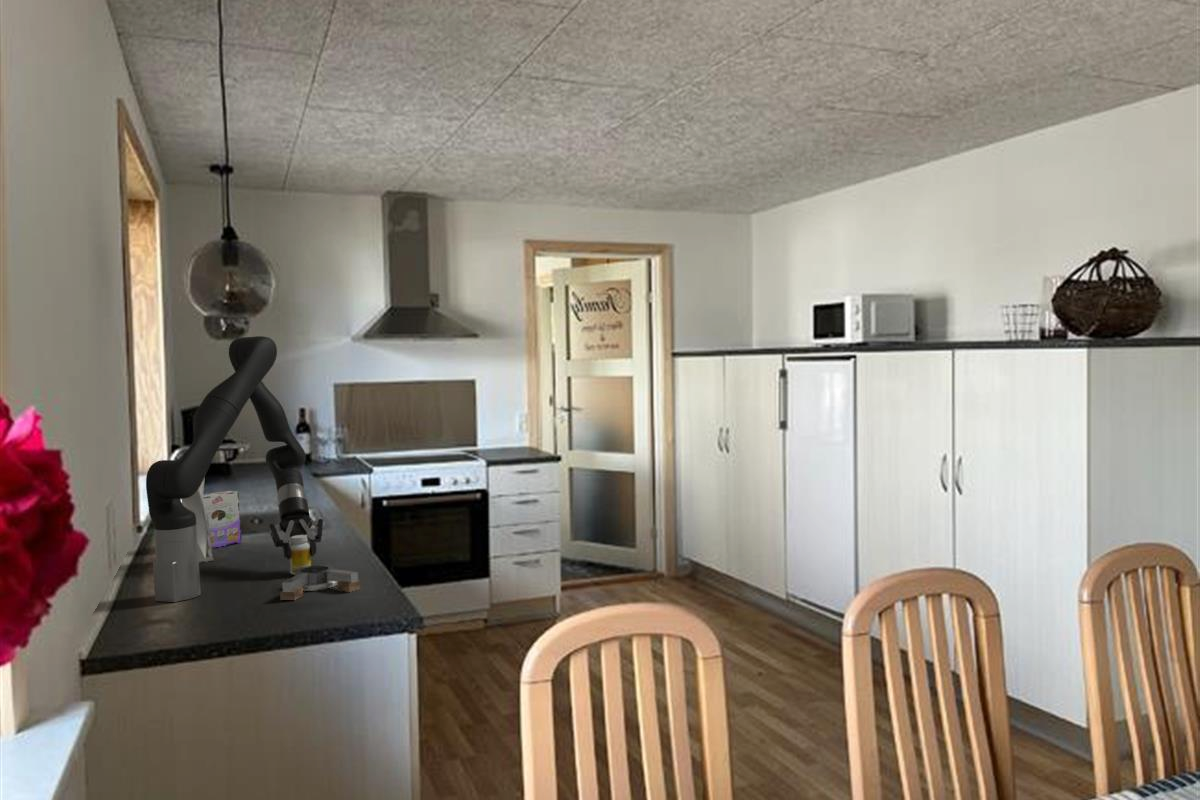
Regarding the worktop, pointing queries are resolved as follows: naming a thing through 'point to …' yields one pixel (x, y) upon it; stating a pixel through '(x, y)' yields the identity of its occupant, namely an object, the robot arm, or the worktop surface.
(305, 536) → the supplement bottle
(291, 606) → the worktop surface
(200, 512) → the skyscraper
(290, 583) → the angled shafts
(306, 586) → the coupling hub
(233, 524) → the candy box
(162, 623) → the worktop surface
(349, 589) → the blocks
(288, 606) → the worktop surface
